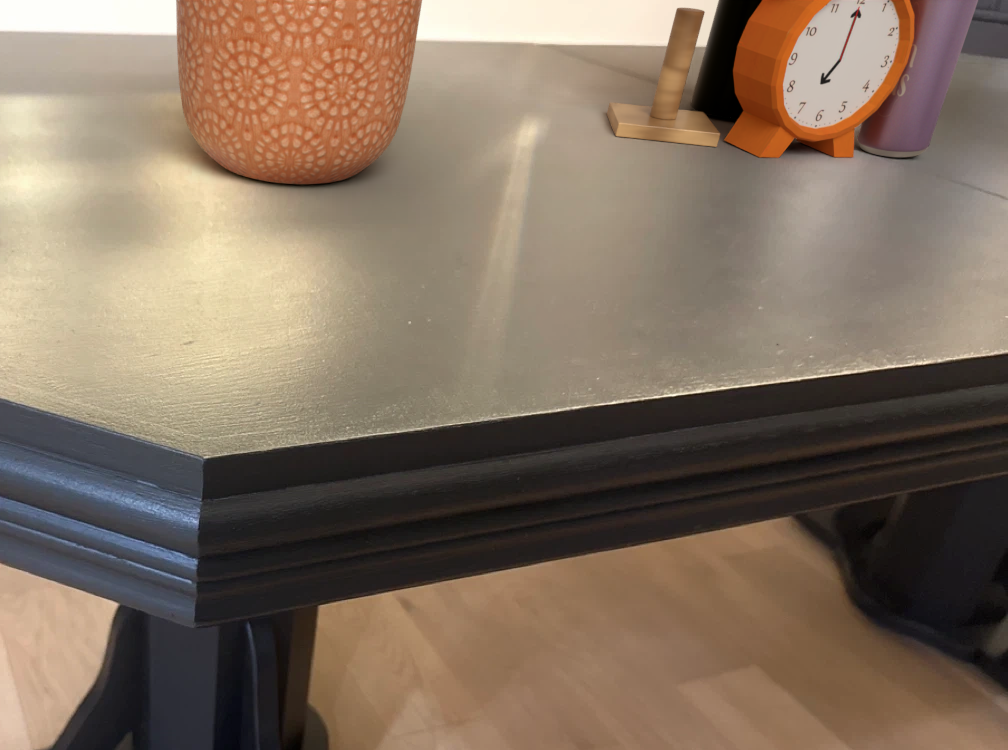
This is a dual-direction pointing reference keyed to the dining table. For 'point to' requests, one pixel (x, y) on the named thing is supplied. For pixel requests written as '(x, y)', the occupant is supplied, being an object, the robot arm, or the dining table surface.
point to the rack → (669, 95)
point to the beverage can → (920, 81)
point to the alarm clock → (817, 71)
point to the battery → (722, 60)
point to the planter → (295, 83)
